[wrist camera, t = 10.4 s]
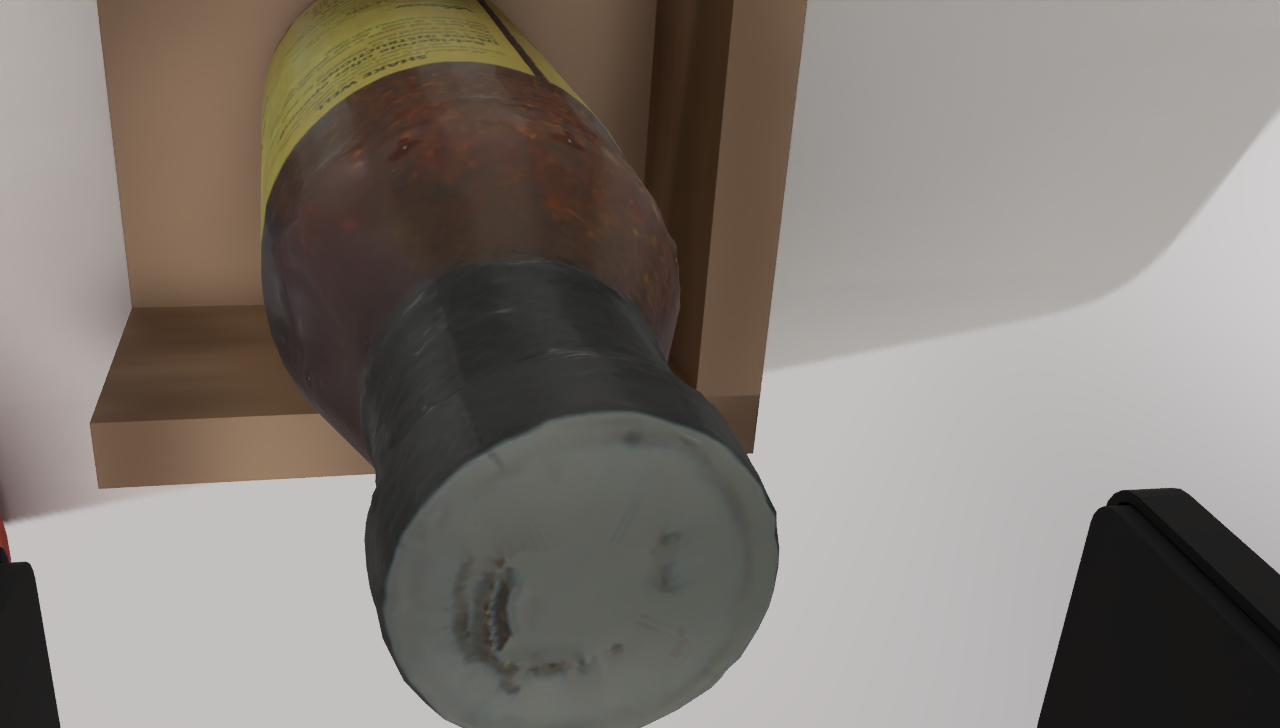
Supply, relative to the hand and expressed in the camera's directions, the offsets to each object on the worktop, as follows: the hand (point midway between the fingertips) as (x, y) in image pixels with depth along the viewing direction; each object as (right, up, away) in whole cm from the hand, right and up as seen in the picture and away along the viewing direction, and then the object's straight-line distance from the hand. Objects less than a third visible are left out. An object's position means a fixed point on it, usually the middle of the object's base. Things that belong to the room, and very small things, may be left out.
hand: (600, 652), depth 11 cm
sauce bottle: (-5, +9, +18) cm, 21 cm away
